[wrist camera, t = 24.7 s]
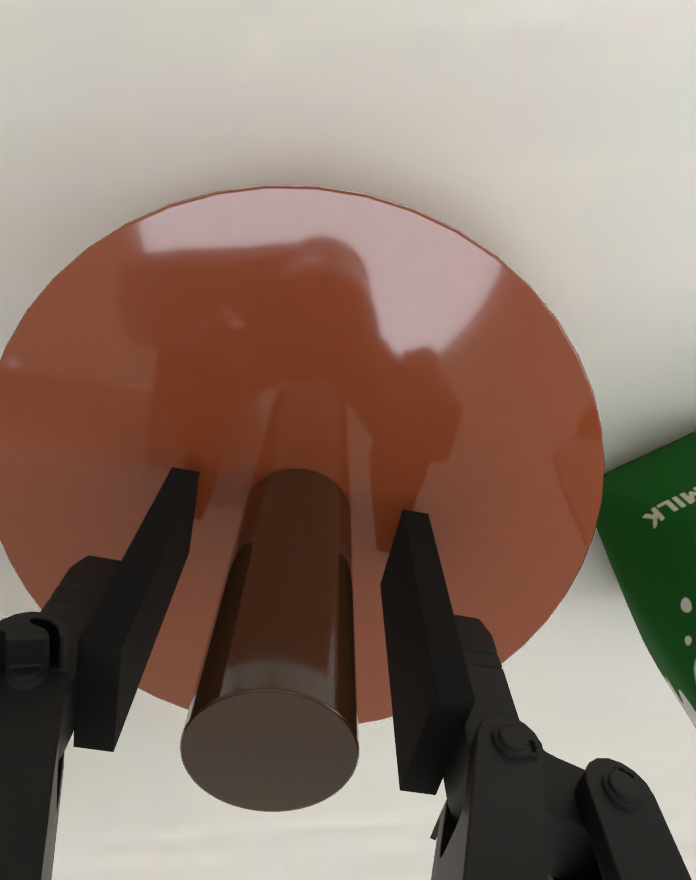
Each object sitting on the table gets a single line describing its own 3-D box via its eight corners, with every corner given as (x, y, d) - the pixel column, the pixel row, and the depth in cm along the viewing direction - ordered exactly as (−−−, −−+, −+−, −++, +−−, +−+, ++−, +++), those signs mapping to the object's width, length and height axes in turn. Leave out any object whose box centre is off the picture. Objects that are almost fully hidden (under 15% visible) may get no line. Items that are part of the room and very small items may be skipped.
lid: (7, 662, 22) (-196, 972, 14) (-6, 104, 14) (-476, 31, 6) (485, 732, 24) (564, 1041, 15) (692, 269, 16) (1061, 386, 8)
